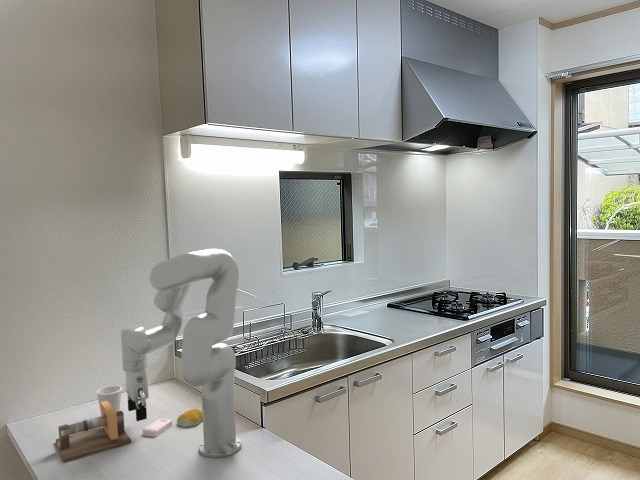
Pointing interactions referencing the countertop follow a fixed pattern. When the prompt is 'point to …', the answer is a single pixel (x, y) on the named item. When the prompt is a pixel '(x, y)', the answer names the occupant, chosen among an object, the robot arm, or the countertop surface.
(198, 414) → the bread roll
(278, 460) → the countertop surface
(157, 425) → the soap bar
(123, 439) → the pipe stand
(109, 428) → the collar
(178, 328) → the robot arm
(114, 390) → the dixie cup
